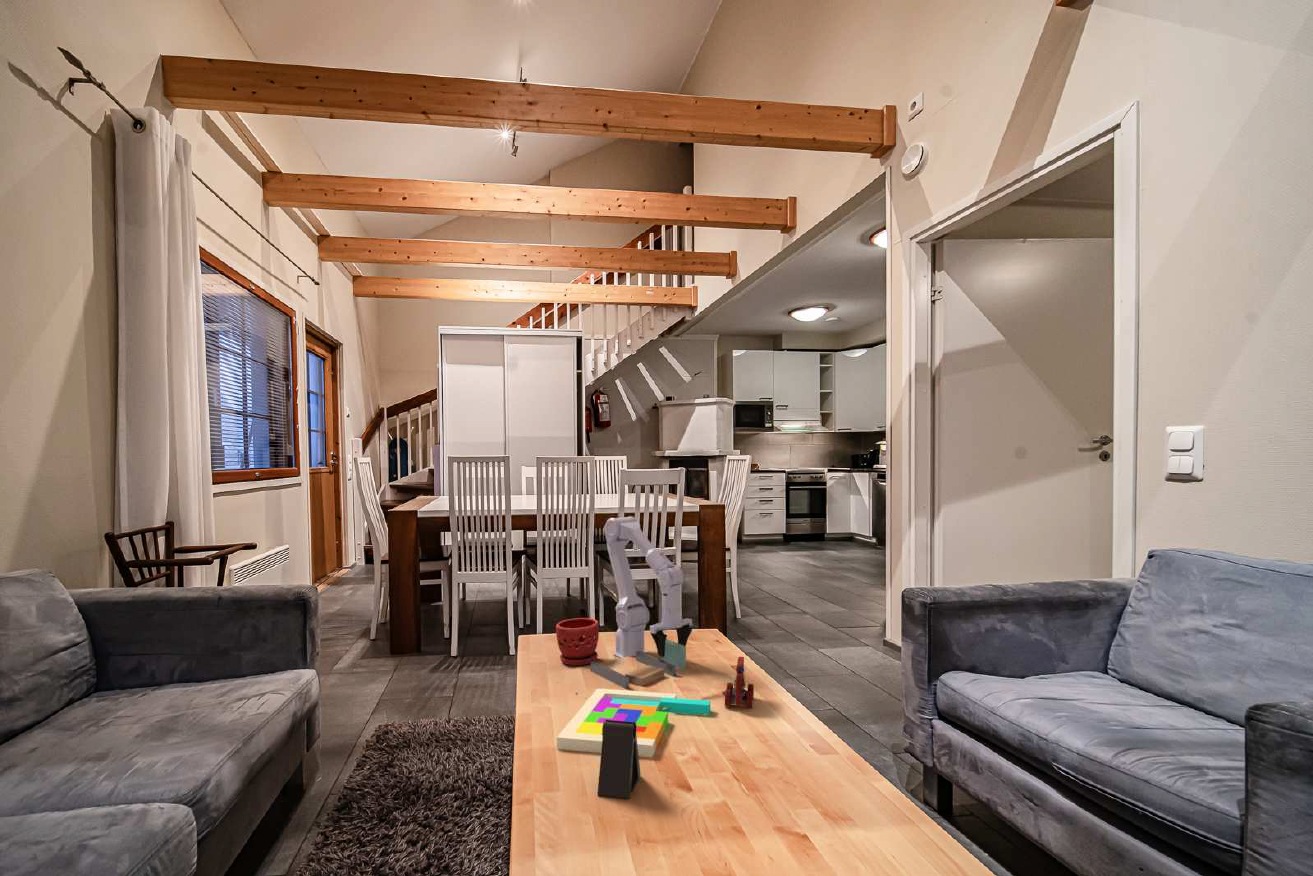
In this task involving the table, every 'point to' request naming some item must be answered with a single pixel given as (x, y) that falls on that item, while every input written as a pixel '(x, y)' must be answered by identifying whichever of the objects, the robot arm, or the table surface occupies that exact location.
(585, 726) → the puzzle game
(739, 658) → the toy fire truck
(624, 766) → the phone stand
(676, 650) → the teal board
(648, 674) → the offcut upper
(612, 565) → the robot arm
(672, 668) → the rack
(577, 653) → the plant pot
